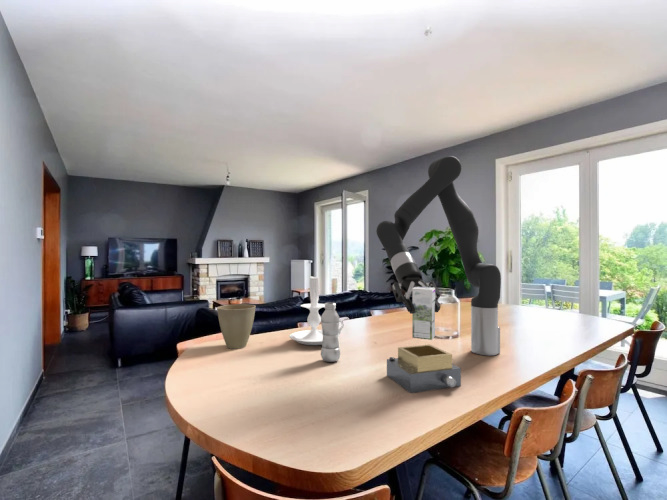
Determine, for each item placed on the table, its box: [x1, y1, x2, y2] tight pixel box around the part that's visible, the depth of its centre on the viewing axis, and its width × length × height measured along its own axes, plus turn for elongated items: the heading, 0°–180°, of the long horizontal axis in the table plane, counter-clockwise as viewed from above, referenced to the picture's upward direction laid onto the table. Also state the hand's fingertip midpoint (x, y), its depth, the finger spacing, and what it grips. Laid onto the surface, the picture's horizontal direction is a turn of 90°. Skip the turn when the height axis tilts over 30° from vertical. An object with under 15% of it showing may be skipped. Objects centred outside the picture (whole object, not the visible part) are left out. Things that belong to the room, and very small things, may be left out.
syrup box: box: [411, 287, 436, 341], centre depth 102 cm, size 6×6×14 cm
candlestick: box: [289, 275, 345, 346], centre depth 147 cm, size 21×25×28 cm
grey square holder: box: [386, 344, 462, 394], centre depth 102 cm, size 16×17×9 cm
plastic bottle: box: [320, 302, 341, 363], centre depth 122 cm, size 6×7×20 cm
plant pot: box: [216, 303, 256, 350], centre depth 141 cm, size 15×15×16 cm
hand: (425, 311), depth 101 cm, fingers closed on syrup box, 8 cm apart
